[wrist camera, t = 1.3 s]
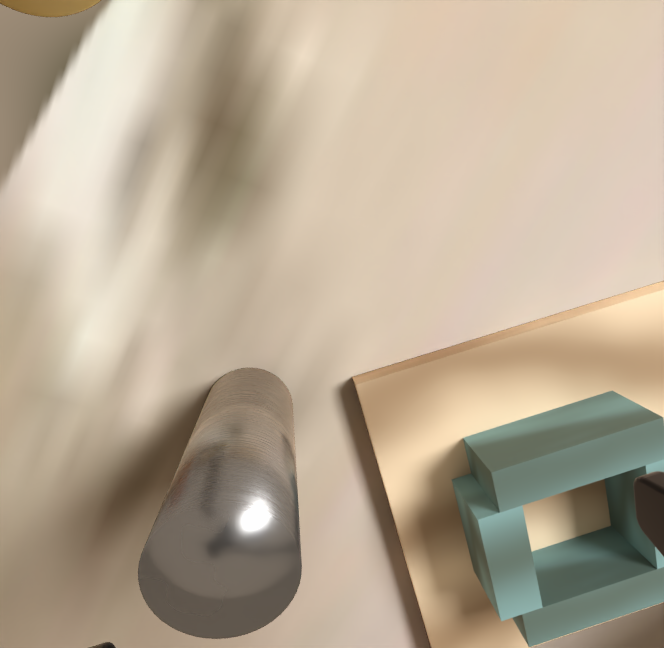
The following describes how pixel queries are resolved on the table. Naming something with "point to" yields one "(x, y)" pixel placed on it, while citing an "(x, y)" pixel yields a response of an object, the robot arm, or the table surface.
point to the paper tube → (49, 6)
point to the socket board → (486, 400)
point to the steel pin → (229, 515)
